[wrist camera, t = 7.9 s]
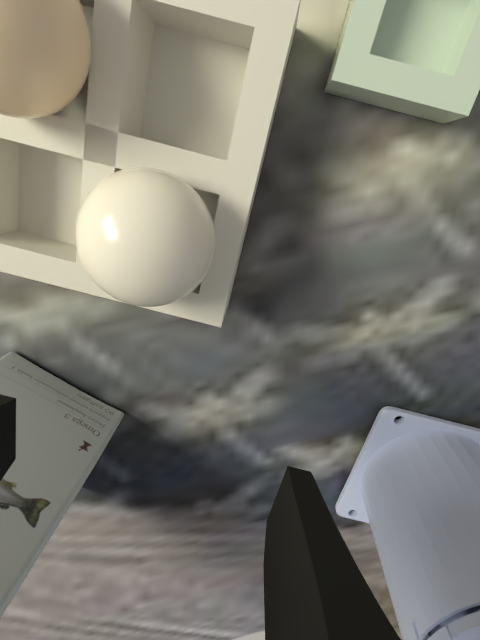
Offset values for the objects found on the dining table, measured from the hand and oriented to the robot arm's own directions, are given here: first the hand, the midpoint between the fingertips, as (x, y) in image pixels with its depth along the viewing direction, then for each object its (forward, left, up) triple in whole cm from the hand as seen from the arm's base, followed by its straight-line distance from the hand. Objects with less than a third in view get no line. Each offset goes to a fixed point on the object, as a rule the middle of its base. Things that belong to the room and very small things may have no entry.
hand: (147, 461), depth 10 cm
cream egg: (+2, -4, -6) cm, 8 cm away
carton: (+5, -7, -10) cm, 13 cm away
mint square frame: (-5, -14, -10) cm, 17 cm away
